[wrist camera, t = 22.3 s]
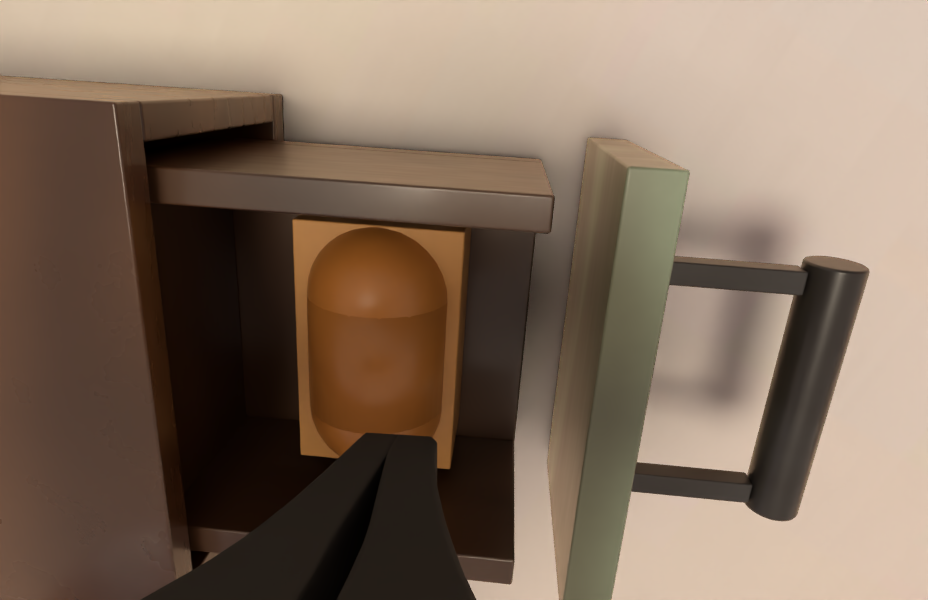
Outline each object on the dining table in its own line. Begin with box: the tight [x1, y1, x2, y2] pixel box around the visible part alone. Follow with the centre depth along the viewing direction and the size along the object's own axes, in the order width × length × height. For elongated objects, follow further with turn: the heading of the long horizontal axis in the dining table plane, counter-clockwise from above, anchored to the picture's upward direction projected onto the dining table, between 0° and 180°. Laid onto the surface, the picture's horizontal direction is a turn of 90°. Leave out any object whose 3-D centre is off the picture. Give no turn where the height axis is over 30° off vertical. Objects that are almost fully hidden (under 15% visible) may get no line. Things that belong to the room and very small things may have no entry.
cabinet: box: [0, 76, 284, 600], centre depth 18 cm, size 14×13×9 cm
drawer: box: [144, 136, 869, 600], centre depth 17 cm, size 18×11×7 cm, turn 87°
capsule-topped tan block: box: [292, 215, 471, 469], centre depth 17 cm, size 7×4×4 cm, turn 177°
